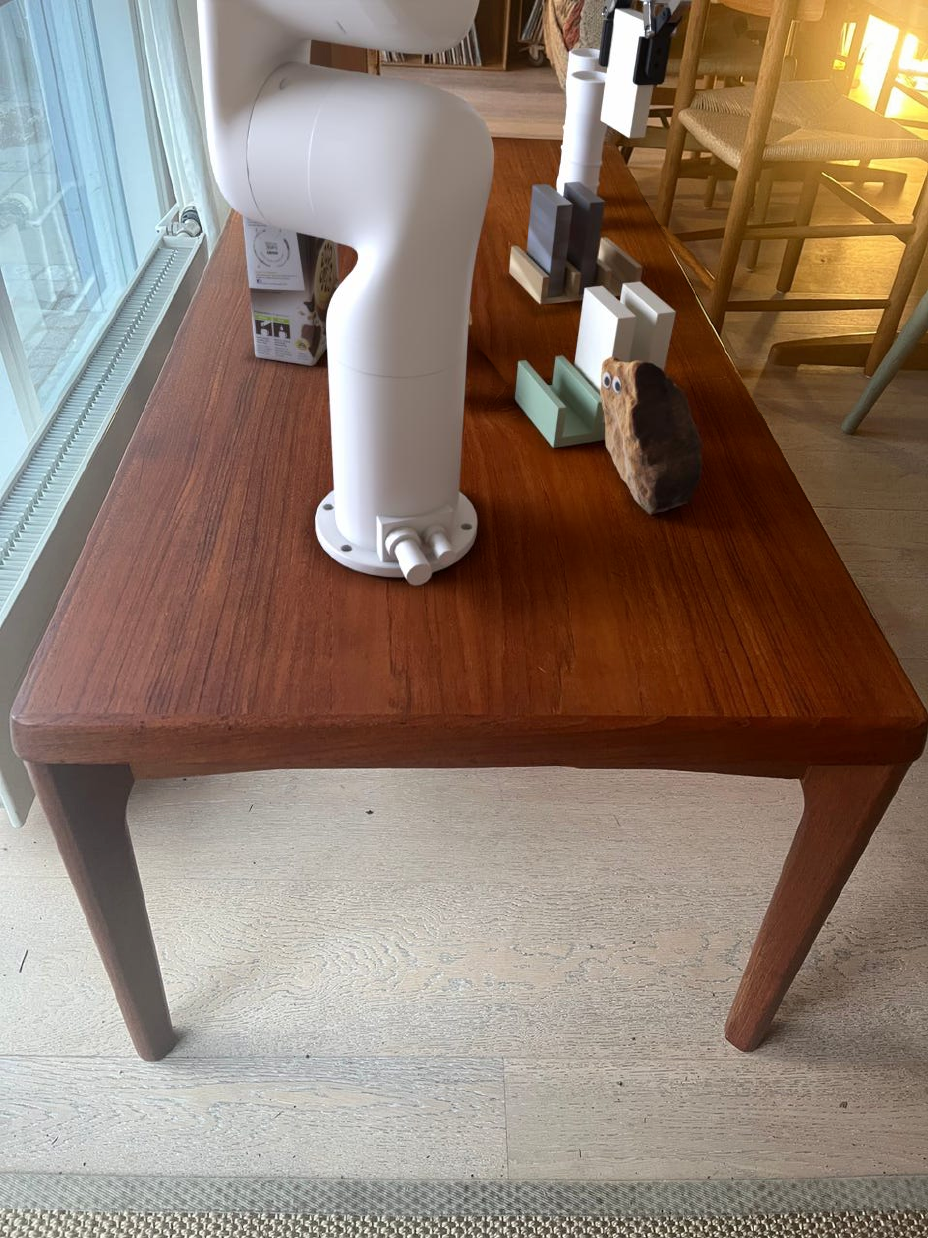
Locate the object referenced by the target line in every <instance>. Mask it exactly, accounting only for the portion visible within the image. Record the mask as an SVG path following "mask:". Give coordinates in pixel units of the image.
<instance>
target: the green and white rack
mask: <svg viewBox="0 0 928 1238" xmlns="http://www.w3.org/2000/svg"><path fill="white" fill-rule="evenodd" d="M676 314H677V311H676V310H674V308H672V307H671V306H670V305H669V304H668V303H666V302H665V301H664V300H663V299H661V298H660V297H659V296H658V295H657V294H656V293H654V292H653V291H652V290H651V289H650V288H648V286H647V285H645V284H644V283H643V282H642V281H640V282H632V283H623V286H622V292H621V295H620V300H619V299H618V298H616V296H613V295H612V294H611V293H610V292H609V291H608V290H607V289H605V288H604V287H603V286H596V287H587V288H585V290H584V298H583V300H582V305H581V313H580V319H579V326H578V336H577V342H576V349H575V357H574V365H573V364H571V362H570V361H569V360H568V359H567V358H566V357H565V356H564V355H556V356H555V359H554V369H553V376H552V384H550V385H548V383H546V382H545V380H544V379H543V378H542V376H540V374H538V372H537V371H536V370H535V369H534V368H533V366H532V365H531V364H530V363H529V361H528V360H526V359H523V360H519V361H518V362H517V370H516V371H517V372H516V382H515V393H514V400H515V402H516V403H517V404H518V405H519V407H520V408H521V409H522V411H523V412H524V413H525V415H526V416H527V417H528V418H529V420H531V422H532V423H533V425H534V426H535V427H536V428H537V430H538V431H539V433H541V435H542V436H543V437H544V438H545V440H546V441H547V442H548V443H549V445H550V446H551V448H553V449H557V448H562V447H570V446H575V445H581V444H586V443H593V442H600V441H605V427H606V423H605V414H604V410H603V406H602V401H601V395H600V390H601V372H602V363H603V362H604V361H605V360H606V359H608V358H609V357H616V358H617V359H619V360H622V361H626V362H628V363H629V362H633V361H637V360H639V361H644V362H648V363H653V364H654V365H656V366H657V367H659V368H661V369H662V370H663V371H664V372H665V368H666V362H667V357H668V351H669V347H670V342H671V337H672V333H673V327H674V323H675V318H676ZM674 385H676V384H675V383H674Z"/></svg>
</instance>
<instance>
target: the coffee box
mask: <svg viewBox="0 0 928 1238" xmlns="http://www.w3.org/2000/svg"><path fill="white" fill-rule="evenodd" d="M242 225H243V234H244V235H243V238H244V246H245V247H244V248H245V258H246V268H247V280H248V289H249V290H248V291H249V298H250V309H251V310H250V311H251V320H252V321H251V322H252V332H253V342H254V355H255V357H256V358H258V359H259V358H260V359H265V360H273V361H277V362H278V361H280V362H285V363H290V364H297V365H302V366H303V365H304V366H310V367H312V366H316V364H317V362H318V361H319V359H320V358H321V356H322V355H323V354H324V353H325V351H326V350H327V335H326V319H327V312H328V308H329V304H330V301H331V299H332V297H333V295H334V293H335V291H336V290H337V288H338V287H339V285H340V278H339V277H340V275H339V274H340V273H339V256H338V255H339V253H338V252H339V251H338V243H336V242H333V241H331V240H328V239H324V238H319V237H315V236H311V235H306V234H302V233H298V232H293V231H289V230H285V229H281V228H277V227H273V226H269V225H265V224H262V223H259V222H256V221H253V220H251V219H248V218H246V217H245V216H243V215H242Z"/></svg>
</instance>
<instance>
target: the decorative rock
mask: <svg viewBox="0 0 928 1238" xmlns="http://www.w3.org/2000/svg"><path fill="white" fill-rule="evenodd" d="M674 384H675V382H674V379H673V378H672V377H671V376H669V375H666V373H665V370H664V371H663V370H662V369H661V368H659V367H657V366H656V365H654V364H653V363H648V362H644V361H639V360H637V361H633V362H629V363H628V362H626V361H622V360H619V359H617V358H616V357H609V358H608V359H606V360H605V361H604V362H603V363H602V372H601V390H600V395H601V401H602V406H603V410H604V414H605V423H606V427H605V440H604V441H605V447H606V449H607V451H608V452H609V454H610V456H611V460H612V462H613V465H614V466H615V468H616V471H617V472H618V474H619V476H620V479H622V481H624V483H625V484H626V486H627V487H628V489H629V490H630V494H631V495H632V497H633V499H634V501H635V502H636V503H637V504H638V505H639V506H640V507H641V508H642V509H643V510H644V511H645V512H646V513H647V514H648V515H654V514H658V513H663V512H666V511H668V510H670V509H675V508H676V507H680V506H683V505H684V504H685V505H687V504H688V503H689V502H691V500H692V499H693V498H694V495H693V494H694V493H695V492H696V491H697V490H699V483H700V480H701V476H702V469H703V457H702V449H703V440H702V437H701V435H700V434H699V430H698V427H697V426H696V424H695V423H696V422H695V421H694V420H693V417H692V412H691V409H690V405H689V399H688V397H687V396H686V394H685V391H684V390H683V389H682V388H681V387H679V386H678V385H676V384H675V385H674Z"/></svg>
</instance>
